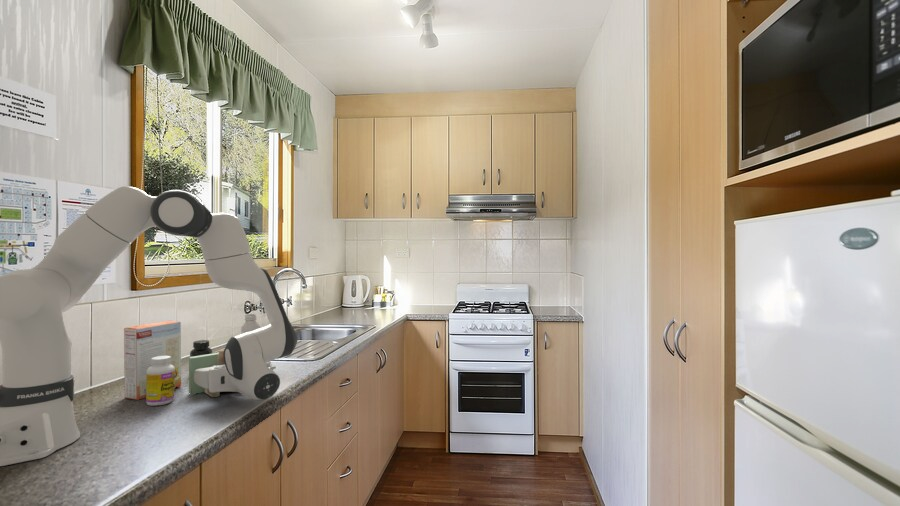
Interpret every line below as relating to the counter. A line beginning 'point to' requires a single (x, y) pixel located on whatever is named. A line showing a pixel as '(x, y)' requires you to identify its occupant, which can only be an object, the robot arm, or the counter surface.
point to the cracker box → (149, 354)
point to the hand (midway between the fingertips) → (224, 366)
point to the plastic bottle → (250, 323)
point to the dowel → (221, 358)
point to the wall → (199, 363)
